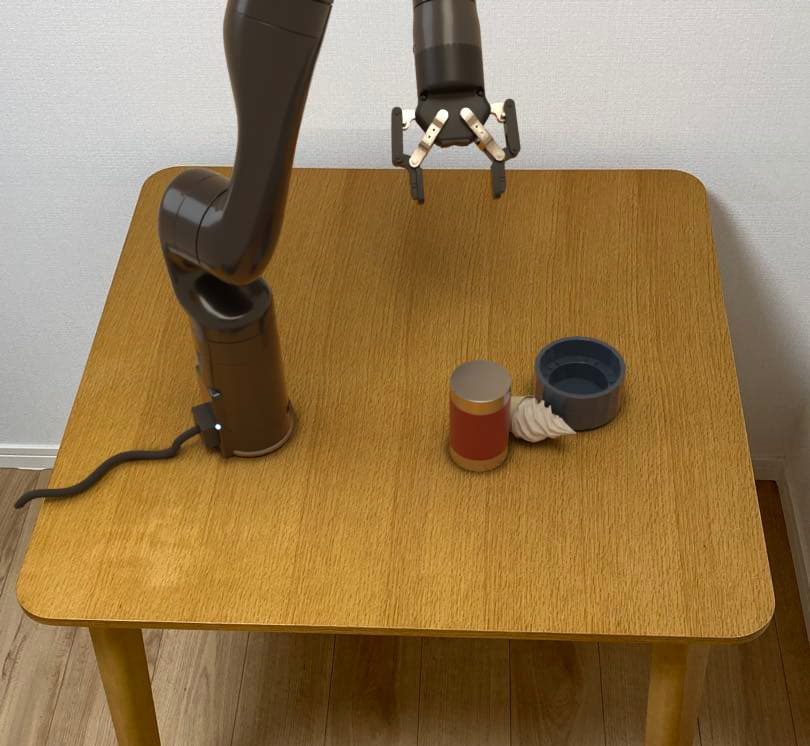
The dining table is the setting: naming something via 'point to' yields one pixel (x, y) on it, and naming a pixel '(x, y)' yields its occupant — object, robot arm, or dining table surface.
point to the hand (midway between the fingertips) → (459, 201)
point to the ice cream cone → (535, 420)
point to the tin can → (479, 415)
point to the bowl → (580, 381)
